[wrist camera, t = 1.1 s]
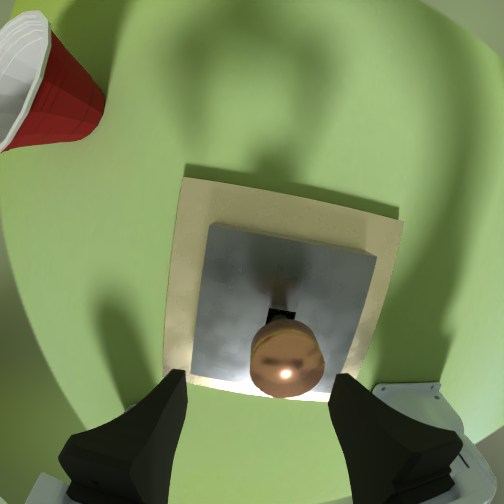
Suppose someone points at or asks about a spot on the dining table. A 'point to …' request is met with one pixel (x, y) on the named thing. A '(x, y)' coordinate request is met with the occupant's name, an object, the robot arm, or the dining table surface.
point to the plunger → (285, 358)
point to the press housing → (271, 280)
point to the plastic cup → (43, 87)
